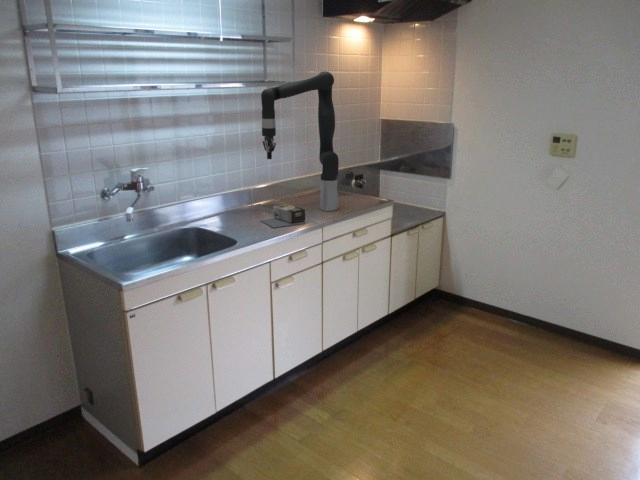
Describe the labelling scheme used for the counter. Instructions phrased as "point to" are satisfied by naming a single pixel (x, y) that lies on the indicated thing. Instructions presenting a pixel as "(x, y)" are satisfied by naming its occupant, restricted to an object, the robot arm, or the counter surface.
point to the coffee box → (289, 213)
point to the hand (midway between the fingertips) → (269, 159)
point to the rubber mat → (279, 223)
